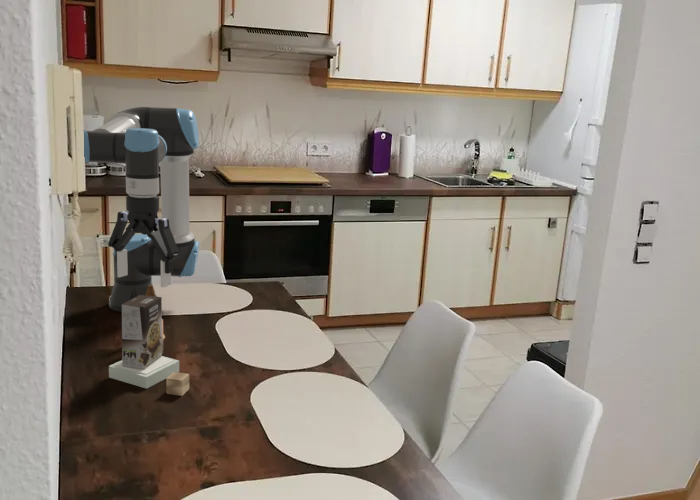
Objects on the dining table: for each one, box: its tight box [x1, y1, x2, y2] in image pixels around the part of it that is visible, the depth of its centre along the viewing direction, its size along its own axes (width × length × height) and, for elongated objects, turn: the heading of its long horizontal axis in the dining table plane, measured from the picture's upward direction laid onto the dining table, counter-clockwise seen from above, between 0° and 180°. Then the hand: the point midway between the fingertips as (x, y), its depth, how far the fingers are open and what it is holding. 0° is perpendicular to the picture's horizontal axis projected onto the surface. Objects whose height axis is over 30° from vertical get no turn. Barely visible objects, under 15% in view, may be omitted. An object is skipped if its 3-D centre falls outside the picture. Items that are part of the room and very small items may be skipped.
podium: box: [108, 355, 180, 389], centre depth 168 cm, size 12×12×3 cm
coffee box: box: [121, 295, 163, 369], centre depth 166 cm, size 9×6×16 cm
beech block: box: [165, 371, 190, 397], centre depth 160 cm, size 4×4×4 cm
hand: (143, 280), depth 163 cm, fingers open, 13 cm apart
